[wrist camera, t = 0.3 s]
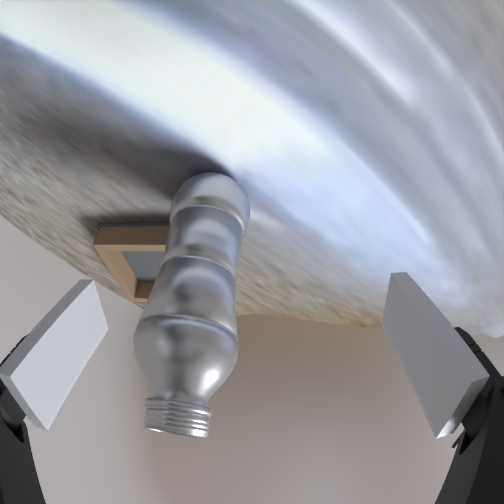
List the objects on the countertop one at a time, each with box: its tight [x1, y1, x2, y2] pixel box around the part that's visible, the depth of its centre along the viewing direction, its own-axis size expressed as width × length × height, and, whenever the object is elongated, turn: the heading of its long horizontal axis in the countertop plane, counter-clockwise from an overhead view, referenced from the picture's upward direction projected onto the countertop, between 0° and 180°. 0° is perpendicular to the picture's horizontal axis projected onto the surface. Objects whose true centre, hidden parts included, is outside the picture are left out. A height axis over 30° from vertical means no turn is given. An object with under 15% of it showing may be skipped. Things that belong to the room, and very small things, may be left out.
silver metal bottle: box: [133, 172, 250, 438], centre depth 20 cm, size 6×7×20 cm
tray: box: [93, 222, 170, 302], centre depth 34 cm, size 12×12×3 cm
